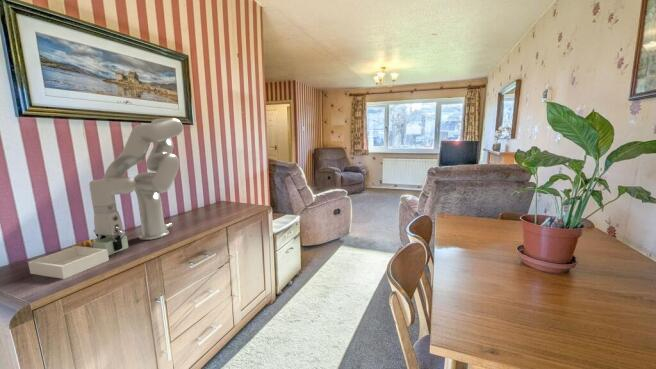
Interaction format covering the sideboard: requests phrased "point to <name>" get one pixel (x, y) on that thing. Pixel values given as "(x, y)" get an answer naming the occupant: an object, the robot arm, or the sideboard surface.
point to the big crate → (68, 262)
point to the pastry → (85, 244)
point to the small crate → (110, 244)
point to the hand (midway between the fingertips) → (111, 248)
